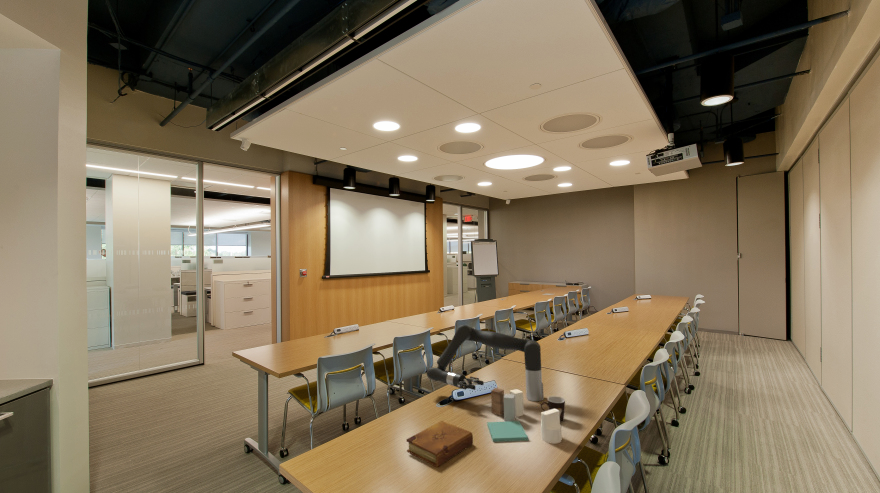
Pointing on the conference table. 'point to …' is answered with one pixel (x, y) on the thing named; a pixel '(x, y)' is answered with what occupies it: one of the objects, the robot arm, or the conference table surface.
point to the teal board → (507, 431)
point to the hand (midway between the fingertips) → (479, 385)
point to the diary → (439, 443)
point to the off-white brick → (518, 402)
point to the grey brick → (509, 407)
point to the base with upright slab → (551, 426)
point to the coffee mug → (556, 405)
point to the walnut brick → (497, 401)
